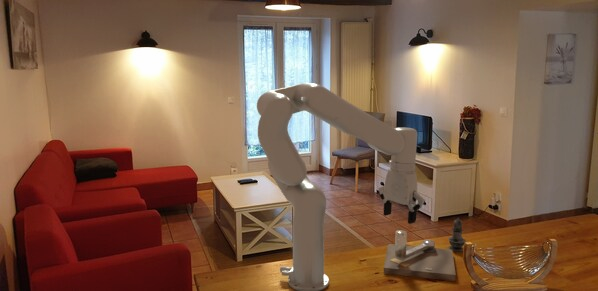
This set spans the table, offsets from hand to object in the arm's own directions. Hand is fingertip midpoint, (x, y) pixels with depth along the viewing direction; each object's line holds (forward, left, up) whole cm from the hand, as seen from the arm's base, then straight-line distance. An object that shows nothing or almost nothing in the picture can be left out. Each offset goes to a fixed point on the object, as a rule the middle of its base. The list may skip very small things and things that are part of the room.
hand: (399, 218), depth 152 cm
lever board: (+7, +6, -17) cm, 19 cm away
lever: (+5, +7, -14) cm, 16 cm away
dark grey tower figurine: (+20, +22, -18) cm, 34 cm away
